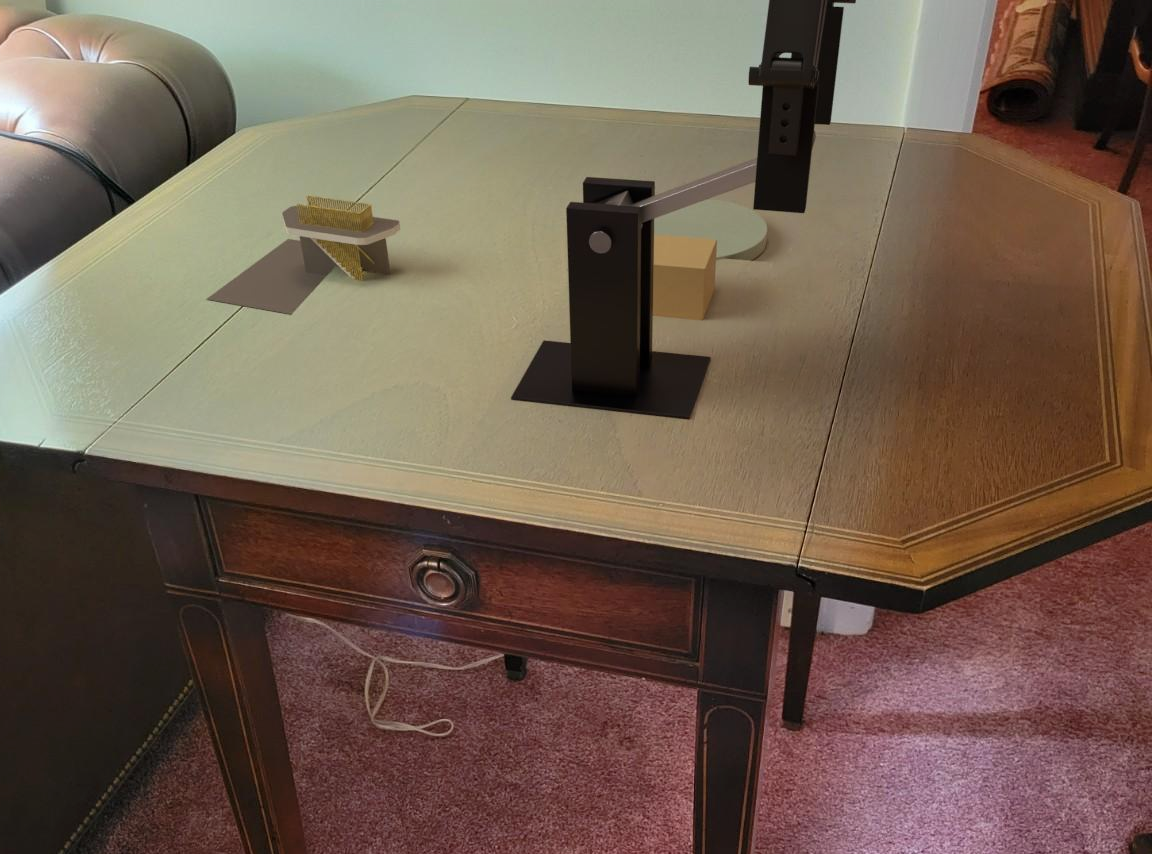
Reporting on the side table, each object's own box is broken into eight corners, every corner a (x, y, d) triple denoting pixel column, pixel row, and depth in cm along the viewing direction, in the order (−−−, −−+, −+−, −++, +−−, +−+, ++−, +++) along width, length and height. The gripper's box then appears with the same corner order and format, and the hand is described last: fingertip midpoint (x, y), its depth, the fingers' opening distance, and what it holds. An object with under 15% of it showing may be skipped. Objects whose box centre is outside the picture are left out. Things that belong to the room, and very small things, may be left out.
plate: (775, 217, 104) (776, 203, 103) (755, 278, 95) (756, 264, 94) (638, 207, 107) (638, 193, 106) (606, 266, 98) (606, 252, 97)
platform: (406, 334, 90) (395, 251, 86) (206, 299, 96) (186, 219, 92) (476, 267, 99) (470, 188, 94) (288, 238, 104) (273, 162, 100)
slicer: (709, 371, 85) (720, 175, 76) (688, 432, 79) (697, 228, 70) (544, 354, 87) (534, 163, 78) (511, 412, 81) (498, 213, 72)
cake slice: (714, 301, 93) (717, 239, 89) (702, 332, 89) (705, 268, 86) (649, 296, 94) (650, 233, 90) (635, 326, 90) (636, 262, 87)
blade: (821, 150, 72) (808, 112, 71) (810, 189, 68) (796, 149, 66) (610, 227, 79) (595, 193, 77) (587, 267, 74) (571, 232, 73)
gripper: (790, -316, 66) (759, 88, 80) (713, -265, 48) (690, 247, 62) (933, -319, 64) (876, 94, 78) (909, -267, 46) (841, 259, 60)
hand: (794, 162), depth 70 cm, fingers open, 13 cm apart
